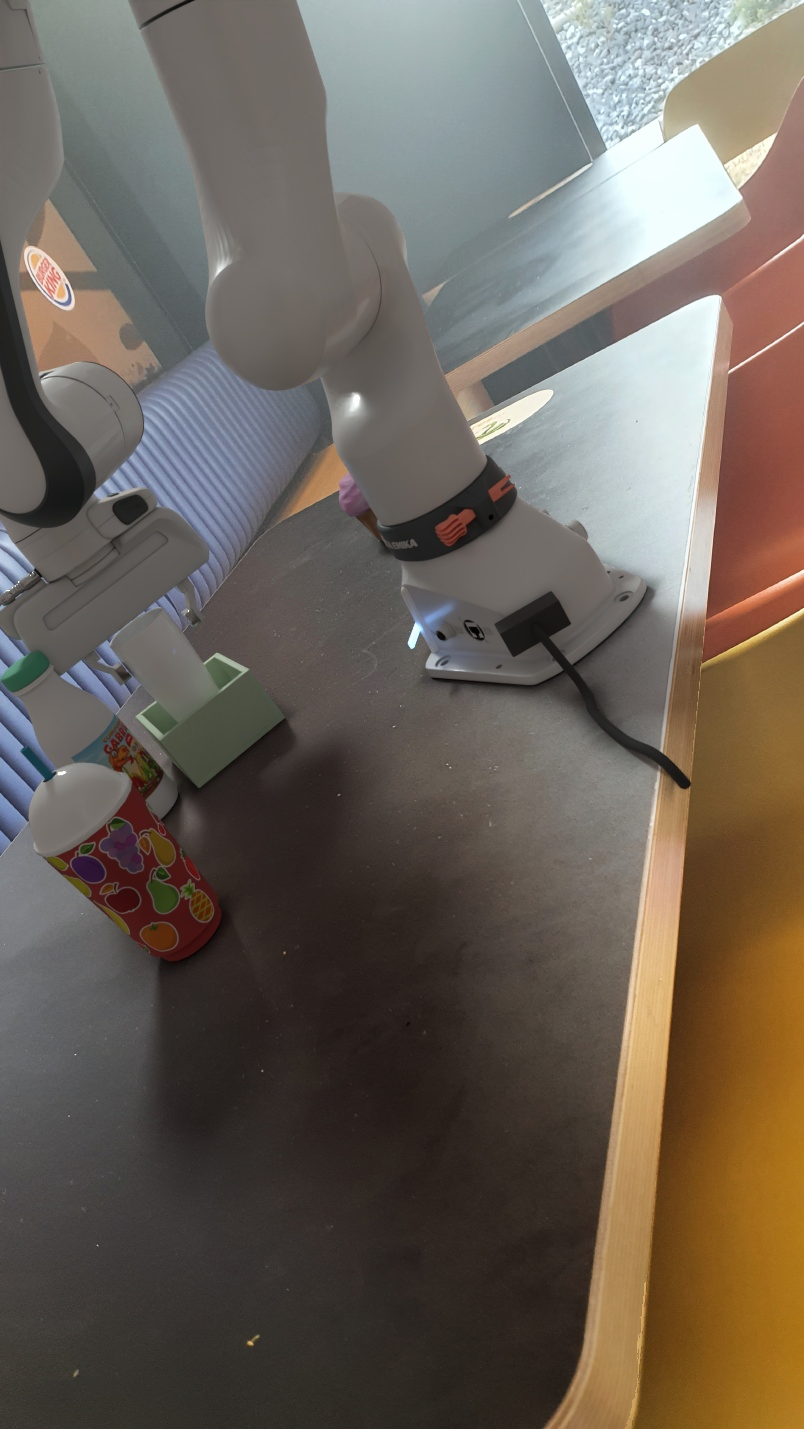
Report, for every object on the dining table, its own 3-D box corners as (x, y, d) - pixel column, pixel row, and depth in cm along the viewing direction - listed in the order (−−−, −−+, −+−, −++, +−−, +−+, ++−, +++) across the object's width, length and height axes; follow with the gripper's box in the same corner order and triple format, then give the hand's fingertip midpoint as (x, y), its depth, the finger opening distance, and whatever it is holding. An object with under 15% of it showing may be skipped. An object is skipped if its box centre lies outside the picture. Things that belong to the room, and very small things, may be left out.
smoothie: (201, 887, 82) (45, 709, 73) (255, 901, 75) (91, 709, 67) (132, 965, 77) (-42, 787, 69) (183, 986, 71) (-2, 793, 62)
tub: (285, 717, 100) (249, 669, 97) (199, 788, 98) (159, 740, 95) (250, 696, 110) (217, 652, 107) (171, 760, 108) (134, 716, 105)
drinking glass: (236, 746, 100) (147, 632, 93) (187, 765, 103) (97, 655, 96) (256, 708, 105) (173, 597, 98) (209, 727, 108) (125, 621, 101)
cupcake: (360, 542, 135) (322, 481, 130) (411, 507, 135) (375, 445, 131) (374, 555, 127) (334, 491, 122) (429, 519, 127) (391, 453, 123)
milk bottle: (116, 852, 96) (-23, 701, 87) (120, 815, 103) (-9, 672, 94) (181, 810, 96) (48, 654, 87) (180, 776, 103) (57, 629, 94)
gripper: (-16, 611, 87) (85, 723, 93) (162, 478, 92) (247, 593, 98) (-20, 604, 93) (75, 710, 99) (148, 480, 98) (229, 588, 104)
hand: (162, 651), depth 99 cm, fingers open, 8 cm apart
